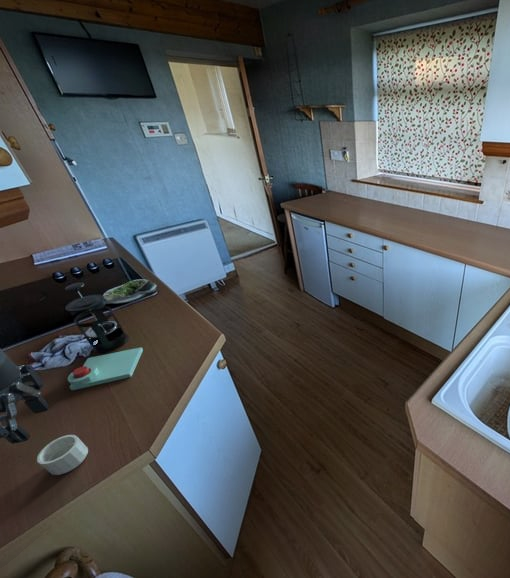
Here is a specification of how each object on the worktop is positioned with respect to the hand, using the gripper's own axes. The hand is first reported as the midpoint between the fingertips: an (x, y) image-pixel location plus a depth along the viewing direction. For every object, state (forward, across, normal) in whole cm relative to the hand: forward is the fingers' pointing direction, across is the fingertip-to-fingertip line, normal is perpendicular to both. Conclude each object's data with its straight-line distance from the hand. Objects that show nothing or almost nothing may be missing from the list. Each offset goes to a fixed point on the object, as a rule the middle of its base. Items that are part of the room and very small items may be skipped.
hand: (33, 424), depth 59 cm
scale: (+14, -30, -2) cm, 33 cm away
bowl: (+14, 0, 0) cm, 14 cm away
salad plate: (+14, -78, -9) cm, 80 cm away
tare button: (+11, -27, -6) cm, 30 cm away
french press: (+14, -44, -6) cm, 47 cm away
